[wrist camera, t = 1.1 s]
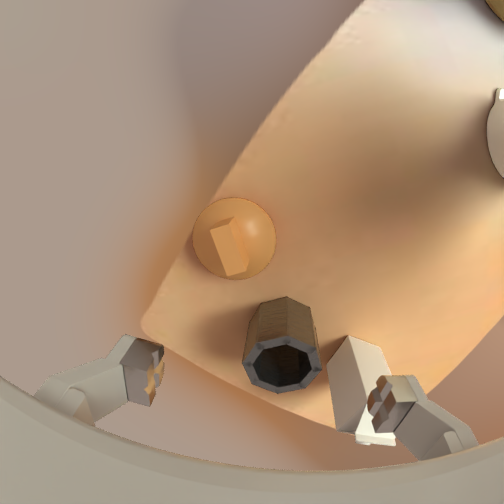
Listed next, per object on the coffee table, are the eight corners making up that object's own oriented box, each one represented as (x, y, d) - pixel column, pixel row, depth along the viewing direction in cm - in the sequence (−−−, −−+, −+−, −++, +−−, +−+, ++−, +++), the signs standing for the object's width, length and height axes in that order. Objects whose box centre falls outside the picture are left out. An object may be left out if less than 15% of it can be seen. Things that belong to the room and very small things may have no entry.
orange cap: (261, 184, 38) (258, 191, 31) (285, 259, 41) (287, 280, 34) (187, 209, 40) (169, 221, 33) (214, 279, 43) (203, 301, 36)
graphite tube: (305, 291, 42) (311, 329, 33) (319, 341, 45) (326, 383, 36) (243, 307, 44) (233, 346, 35) (262, 354, 47) (257, 397, 37)
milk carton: (347, 334, 44) (374, 424, 26) (380, 346, 45) (413, 430, 27) (325, 364, 46) (338, 454, 29) (357, 374, 47) (378, 458, 29)
